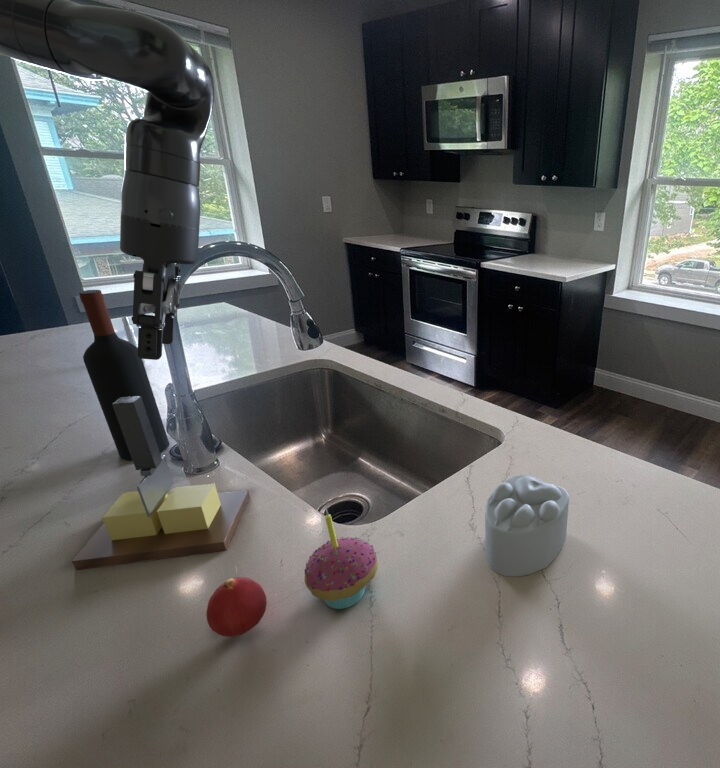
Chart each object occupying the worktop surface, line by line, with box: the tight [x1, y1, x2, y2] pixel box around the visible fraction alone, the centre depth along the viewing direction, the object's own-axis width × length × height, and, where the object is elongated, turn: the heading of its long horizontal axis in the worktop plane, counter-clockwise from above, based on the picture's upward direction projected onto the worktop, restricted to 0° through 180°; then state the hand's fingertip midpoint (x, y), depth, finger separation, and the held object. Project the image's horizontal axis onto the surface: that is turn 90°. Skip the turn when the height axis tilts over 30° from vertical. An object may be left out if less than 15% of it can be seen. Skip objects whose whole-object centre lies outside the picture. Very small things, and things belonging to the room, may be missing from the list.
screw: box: [121, 315, 146, 363], centre depth 124 cm, size 13×5×5 cm
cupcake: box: [304, 508, 379, 610], centre depth 56 cm, size 9×8×12 cm
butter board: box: [71, 489, 251, 571], centre depth 68 cm, size 18×12×2 cm, turn 103°
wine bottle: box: [78, 289, 170, 462], centre depth 82 cm, size 8×8×30 cm
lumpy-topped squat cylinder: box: [484, 474, 570, 577], centre depth 66 cm, size 10×13×9 cm
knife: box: [112, 396, 175, 517], centre depth 63 cm, size 2×8×16 cm, turn 13°
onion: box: [205, 576, 268, 638], centre depth 52 cm, size 6×6×8 cm
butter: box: [101, 483, 221, 540], centre depth 67 cm, size 12×6×4 cm, turn 103°
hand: (156, 350), depth 59 cm, fingers open, 8 cm apart
